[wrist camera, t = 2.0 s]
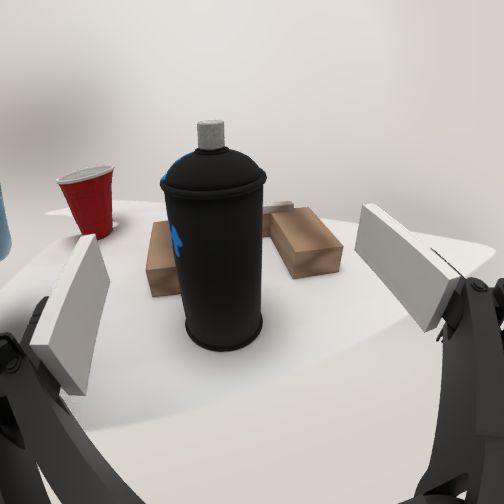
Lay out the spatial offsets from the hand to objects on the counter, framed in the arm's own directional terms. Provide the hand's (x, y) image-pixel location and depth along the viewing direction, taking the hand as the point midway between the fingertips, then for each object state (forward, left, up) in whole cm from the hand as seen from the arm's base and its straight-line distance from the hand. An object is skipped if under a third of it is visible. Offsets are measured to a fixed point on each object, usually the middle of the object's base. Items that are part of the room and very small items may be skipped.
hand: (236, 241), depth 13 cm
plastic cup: (-20, +35, -16) cm, 43 cm away
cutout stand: (+4, +21, -16) cm, 27 cm away
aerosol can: (0, +10, -16) cm, 19 cm away
